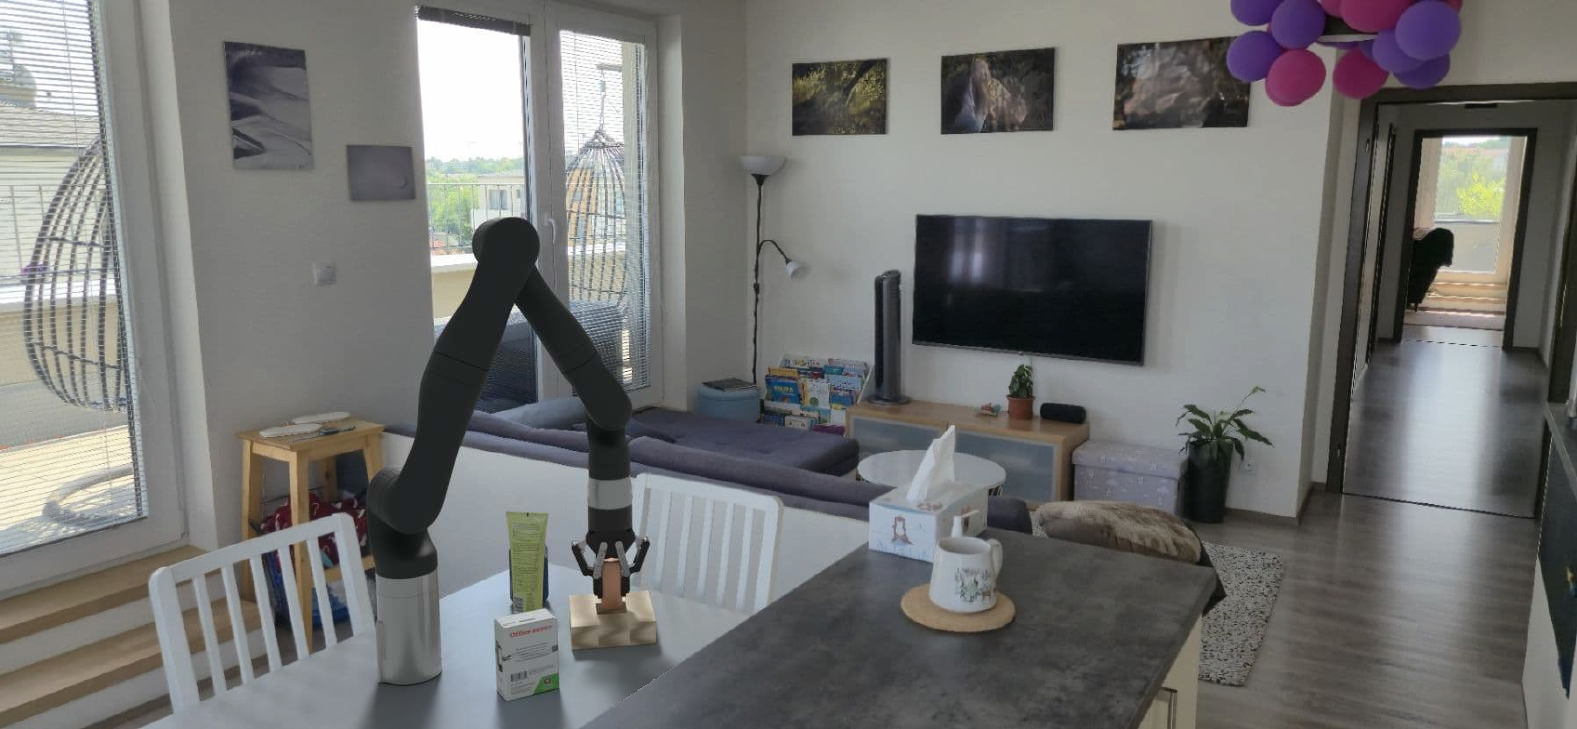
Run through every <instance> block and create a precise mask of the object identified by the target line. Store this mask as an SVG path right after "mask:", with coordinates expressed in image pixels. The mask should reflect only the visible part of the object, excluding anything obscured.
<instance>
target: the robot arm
mask: <svg viewBox="0 0 1577 729" xmlns="http://www.w3.org/2000/svg"><path fill="white" fill-rule="evenodd" d="M471 249H472V254H473V256H474V258H475V260H476V261H477V264H476V267H475V270H474V273H473V276H472V280H471V282H470V284H469V287H468V290H467V292H466V295H464V298H463V300H462V301H461V303H460V304H459V305H458V307H457V308H456V310H455V311H454V313H453V314H452V316H451V317H450V319H449V320H448V322H447V324H445V326H444V328H443V329H442V331H441V333H440V335H439V336H438V338H437V339H436V342H435V343H434V345H433V349H432V351H431V354H430V356H429V359H428V361H427V364H426V365H425V367H424V368H425V369H424V371H423V374H422V376H421V381H420V385H419V390H418V403H417V404H418V406H417V422H416V431H415V435H414V439H413V442H412V445H411V449H410V450H409V453H408V455H407V457H406V460H405V462H404V464H391V465H387V466H385V467H383V468H381V469H380V470H378V471H377V473H375V474H374V476H372V478H371V480H370V482H369V484H368V486H367V489H366V497H365V499H366V500H365V509H366V524H367V534H368V544H369V545H368V546H369V551H370V553H371V555H372V558H373V561H374V571H375V587H376V588H375V589H376V590H375V592H376V610H377V620H376V623H375V642H376V643H375V645H376V664H377V666H376V667H377V682H378V683H388V684H392V685H397V686H399V685H403V686H404V685H415V684H420V683H424V682H427V681H430V680H431V679H434V678H435V677H437V676H438V675H439V674H441V672H442V669H443V667H442V666H443V665H442V664H443V663H442V662H443V661H442V660H443V655H442V637H441V612H440V611H441V610H440V586H439V566H438V564H439V563H438V562H439V559H438V550H437V548H436V545H435V544H434V543H433V542H434V541H432V538H431V536H430V533H429V530H428V528H430V527H431V526H432V525H433V524H434V523H435V521H436V520H437V518H438V517H439V516H440V514H441V511H442V509H443V506H444V503H445V500H446V497H447V493H448V489H449V486H450V482H451V479H452V475H453V472H454V468H455V465H456V464H455V463H456V460H457V457H458V454H459V451H460V448H461V446H462V443H463V441H464V439H465V436H466V434H467V431H468V428H469V425H470V422H471V421H472V418H473V415H474V413H475V410H476V406H477V404H478V402H479V400H480V397H481V396H482V393H483V391H484V388H485V385H486V383H487V381H488V379H489V375H490V373H491V371H492V368H493V365H494V362H495V359H496V356H497V354H498V350H499V349H500V346H501V342H502V340H503V336H504V334H505V332H506V331H505V330H506V327H507V324H508V321H509V318H510V315H511V313H512V310H513V308H514V306H516V307H517V309H518V310H519V311H520V312H521V314H522V315H523V317H524V318H525V320H526V321H527V322H528V325H529V326H530V327H531V329H532V330H533V332H534V333H535V334H536V337H537V338H538V340H539V341H540V343H541V344H542V345H543V348H544V349H545V350H546V352H547V353H548V355H549V356H550V358H551V359H552V361H553V363H554V364H555V366H556V367H557V369H558V370H559V372H560V374H561V375H562V377H563V378H564V379H565V380H566V381H567V382H568V383H569V385H570V386H572V388H573V389H574V391H575V392H576V395H577V396H578V397H579V399H580V402H582V404H583V406H584V420H585V421H584V423H585V429H586V435H587V443H588V457H587V458H588V460H587V464H588V480H587V481H588V482H587V490H586V492H587V497H586V499H587V500H586V501H587V533H586V534H585V538H583V539H580V540H572V541H571V544H570V545H571V546H570V548H571V551H572V554H573V555H574V558H575V560H576V563H577V565H578V567H579V569H580V572H581V574H582V576H584V577H591V578H592V591H593V593H592V594H594V595H595V596H597V597H598V599H602V579H601V569H602V566H603V562H604V560H606V559H610V558H614V559H619V561H620V565H621V568H622V597H626V593H629V592H631V576H632V575H633V574H634V573H635V574H637V573H640V572H641V569H642V567H643V564H644V561H645V560H646V556H647V553H648V551H649V549H650V546H651V543H650V539H649V537H648V536H647V535H645V536H639V535H636V532H635V531H634V528H633V527H634V526H633V498H634V495H633V486H632V485H633V484H632V479H631V452H630V446H629V444H628V441H627V439H626V426H627V425H628V424H629V423H630V422H631V418H632V416H633V403H632V401H631V399H630V397H629V395H628V394H627V392H626V391H625V389H624V388H623V386H622V385H621V383H620V382H619V380H618V379H617V378H616V377H615V376H614V374H613V372H612V371H611V370H610V369H609V368H608V366H607V365H606V363H605V362H604V360H603V358H602V356H601V354H600V351H599V350H598V349H597V347H596V345H595V344H594V342H593V340H592V339H591V337H590V336H589V334H588V333H587V331H586V330H585V328H584V327H583V326H582V324H581V323H580V322H579V320H578V319H577V318H576V317H575V315H574V314H573V313H572V311H571V310H569V309H568V308H567V307H566V305H564V303H563V302H562V301H561V300H560V298H558V296H557V295H556V294H555V293H554V292H553V290H552V289H551V287H550V286H549V285H548V283H547V282H546V280H545V279H544V277H543V276H542V274H541V273H540V270H539V269H538V267H537V265H536V263H537V261H538V258H539V255H540V251H541V250H540V249H541V241H540V236H539V234H538V231H537V229H536V227H535V226H534V224H533V223H531V222H530V221H529V220H528V219H527V218H524V217H521V216H517V215H504V216H503V215H502V216H500V217H499V216H497V217H494V218H493V217H492V218H490V219H489V218H488V220H485V221H483V222H482V223H481V224H479V225H478V226H477V228H476V230H475V231H474V233H473V235H472V238H471ZM634 543H635V548H636V549H637V551H636V553H635V555H634V558H633V560H632V563H630V564H629V563H628V560H627V556H626V554H627V552H628V551H629V550H630V548H631V546H633V544H634ZM586 546H588V547H589V549H590V550H591V551H592V553H594V561H593V566H590V565H589V564H588V562H587V560H586V558H585V555H584V553H585V552H586Z"/></svg>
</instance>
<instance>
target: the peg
mask: <svg viewBox="0 0 1577 729" xmlns="http://www.w3.org/2000/svg"><path fill="white" fill-rule="evenodd" d="M601 579H602V599H601V606H602V607H603V608H605V609H616V608H619V607H621V606H622V568H621V565H620V561H619V559H614V558H610V559H606V560H604V562H603V566H602V569H601Z"/></svg>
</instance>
